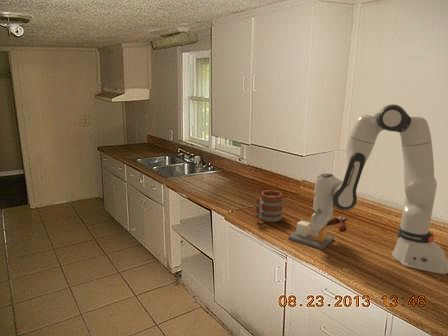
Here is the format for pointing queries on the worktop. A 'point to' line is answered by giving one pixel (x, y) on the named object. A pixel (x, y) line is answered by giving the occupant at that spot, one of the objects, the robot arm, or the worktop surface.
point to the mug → (269, 206)
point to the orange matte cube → (321, 234)
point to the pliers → (338, 221)
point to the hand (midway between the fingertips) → (320, 232)
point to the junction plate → (308, 236)
